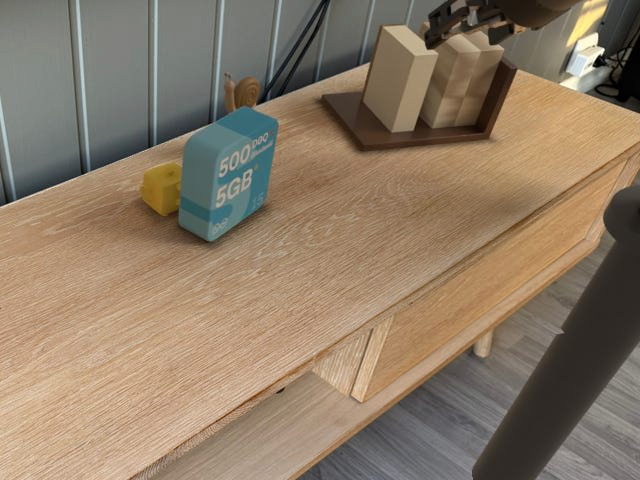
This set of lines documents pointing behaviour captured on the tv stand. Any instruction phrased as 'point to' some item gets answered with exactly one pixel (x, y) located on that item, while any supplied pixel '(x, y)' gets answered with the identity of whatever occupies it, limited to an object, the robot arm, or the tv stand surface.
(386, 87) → the cream book
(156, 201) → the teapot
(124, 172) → the tv stand surface
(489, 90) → the book rack
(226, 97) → the snail figurine
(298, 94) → the tv stand surface
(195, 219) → the data package
